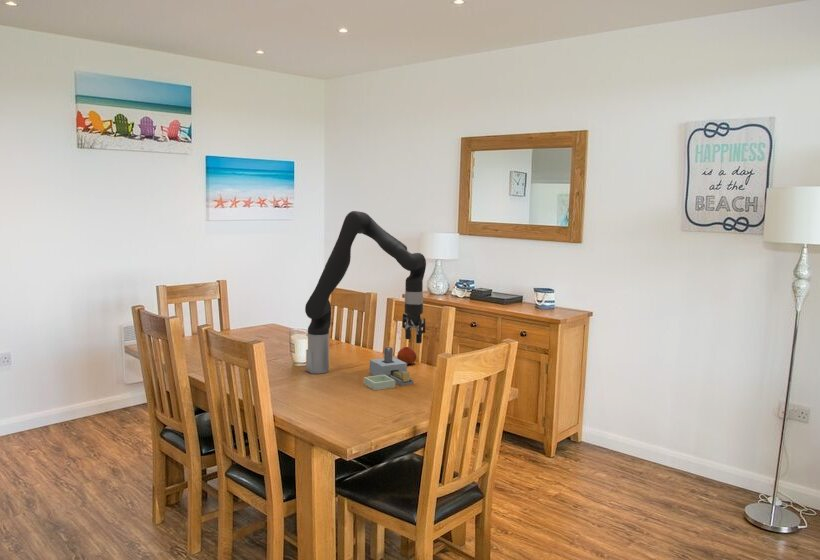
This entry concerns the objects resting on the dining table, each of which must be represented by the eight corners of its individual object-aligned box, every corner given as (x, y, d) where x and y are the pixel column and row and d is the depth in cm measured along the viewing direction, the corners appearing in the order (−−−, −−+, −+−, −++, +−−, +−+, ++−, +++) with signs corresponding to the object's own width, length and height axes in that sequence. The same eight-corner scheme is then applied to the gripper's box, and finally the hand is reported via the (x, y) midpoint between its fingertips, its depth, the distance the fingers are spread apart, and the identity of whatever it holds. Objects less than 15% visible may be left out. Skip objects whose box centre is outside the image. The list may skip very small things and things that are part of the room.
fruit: (405, 367, 297) (405, 350, 296) (393, 363, 304) (393, 346, 303) (420, 364, 302) (420, 347, 301) (408, 360, 309) (408, 344, 308)
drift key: (409, 381, 270) (409, 372, 270) (403, 381, 269) (403, 373, 268) (398, 375, 278) (399, 367, 277) (392, 376, 276) (392, 368, 276)
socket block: (419, 383, 272) (420, 369, 271) (394, 386, 266) (394, 372, 265) (393, 370, 291) (393, 357, 291) (369, 373, 285) (369, 359, 285)
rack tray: (374, 390, 260) (374, 383, 260) (363, 384, 268) (363, 377, 268) (395, 387, 265) (395, 380, 265) (384, 381, 273) (384, 374, 273)
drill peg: (386, 376, 281) (386, 349, 279) (382, 374, 284) (382, 347, 282) (393, 375, 283) (394, 348, 281) (389, 373, 286) (390, 346, 284)
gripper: (397, 300, 267) (396, 338, 269) (415, 305, 255) (414, 345, 257) (412, 299, 271) (412, 337, 273) (431, 303, 259) (430, 343, 261)
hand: (413, 341), depth 265 cm, fingers open, 8 cm apart
